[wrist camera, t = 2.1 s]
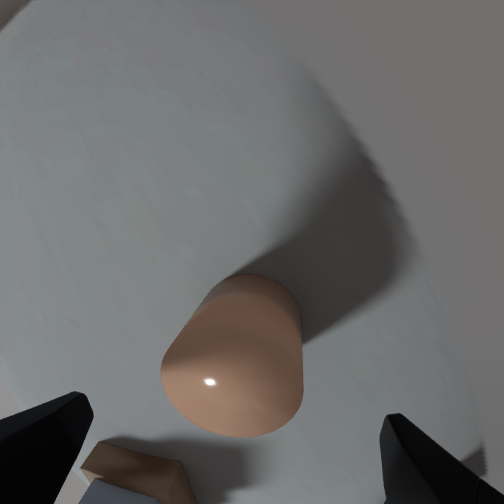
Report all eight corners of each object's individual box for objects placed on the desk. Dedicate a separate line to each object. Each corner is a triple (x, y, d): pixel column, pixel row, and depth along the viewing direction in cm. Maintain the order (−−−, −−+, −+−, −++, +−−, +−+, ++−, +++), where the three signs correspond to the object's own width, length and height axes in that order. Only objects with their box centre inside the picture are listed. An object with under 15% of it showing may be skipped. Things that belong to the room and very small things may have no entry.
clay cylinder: (301, 273, 13) (305, 326, 8) (300, 364, 14) (300, 439, 9) (196, 274, 14) (148, 322, 9) (207, 361, 15) (174, 429, 10)
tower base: (182, 458, 17) (167, 495, 14) (199, 503, 19) (189, 533, 16) (100, 439, 18) (79, 467, 15) (126, 486, 20) (112, 512, 16)
